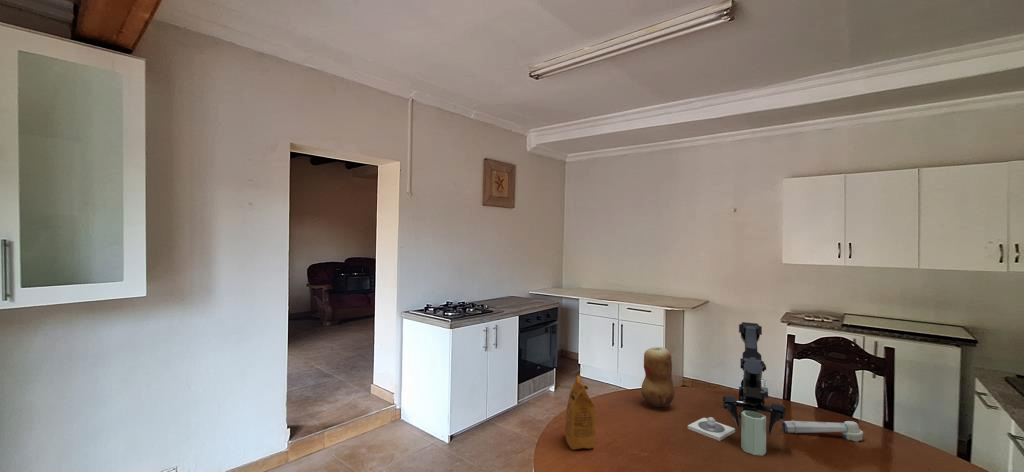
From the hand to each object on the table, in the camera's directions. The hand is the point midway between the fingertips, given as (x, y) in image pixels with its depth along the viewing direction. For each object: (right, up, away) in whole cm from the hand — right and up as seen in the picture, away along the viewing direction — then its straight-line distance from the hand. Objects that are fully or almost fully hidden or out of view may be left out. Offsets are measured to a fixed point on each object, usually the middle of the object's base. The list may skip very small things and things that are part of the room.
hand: (753, 430), depth 139 cm
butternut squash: (-19, -7, +38) cm, 43 cm away
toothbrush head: (+32, -8, +12) cm, 36 cm away
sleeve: (0, -7, +1) cm, 7 cm away
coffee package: (-58, -7, +5) cm, 59 cm away
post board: (-7, -7, +15) cm, 18 cm away
